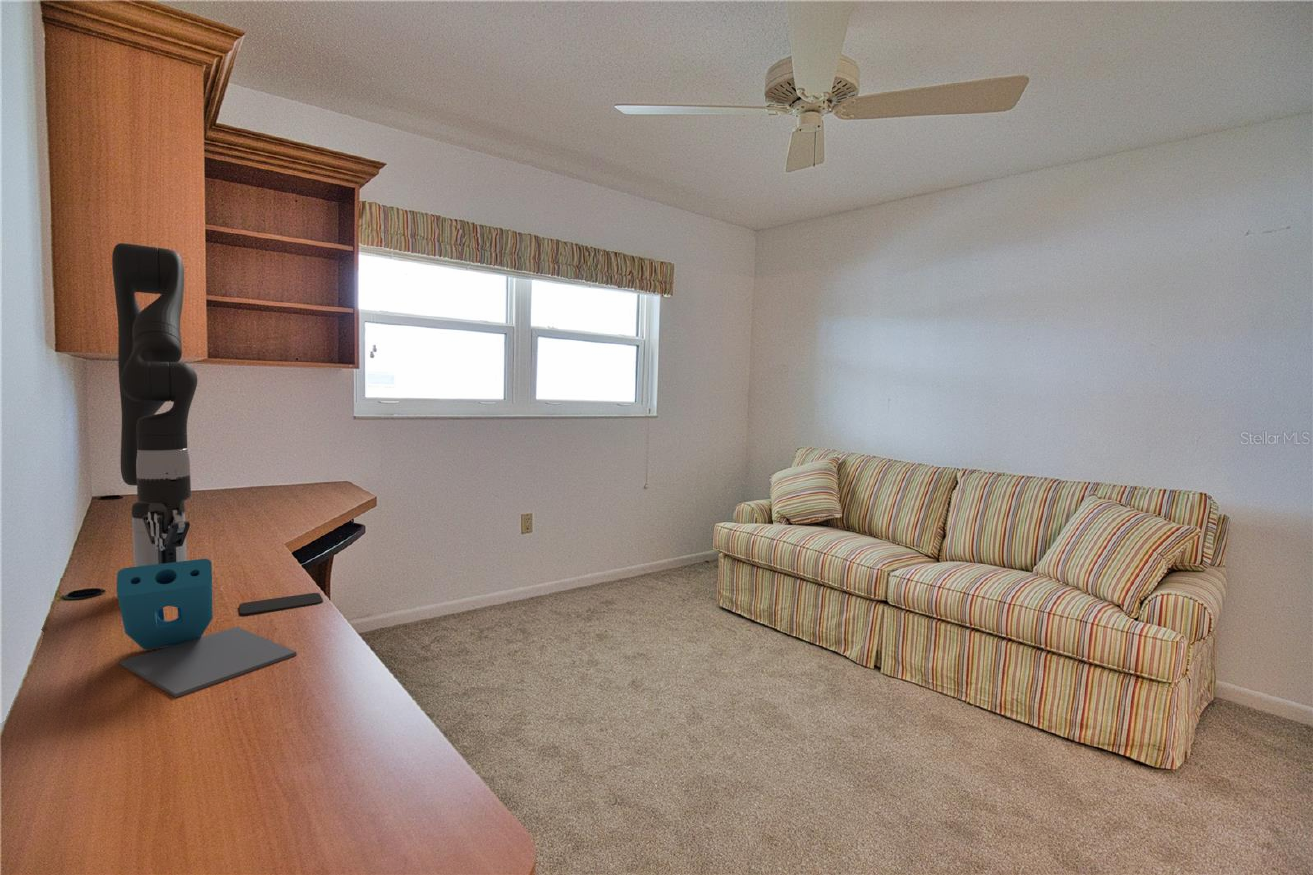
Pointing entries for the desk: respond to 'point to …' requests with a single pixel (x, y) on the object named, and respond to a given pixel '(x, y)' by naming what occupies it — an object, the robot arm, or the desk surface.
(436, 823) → the desk surface
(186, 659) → the mat
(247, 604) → the phone
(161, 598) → the block
